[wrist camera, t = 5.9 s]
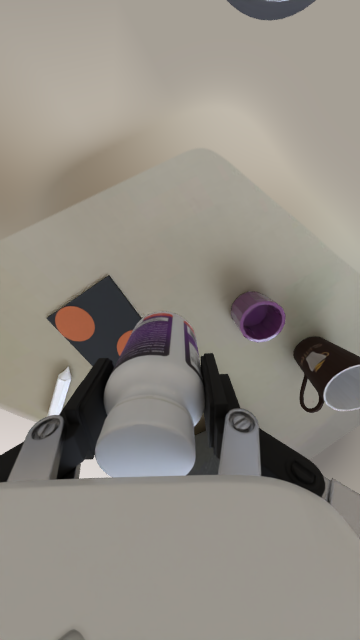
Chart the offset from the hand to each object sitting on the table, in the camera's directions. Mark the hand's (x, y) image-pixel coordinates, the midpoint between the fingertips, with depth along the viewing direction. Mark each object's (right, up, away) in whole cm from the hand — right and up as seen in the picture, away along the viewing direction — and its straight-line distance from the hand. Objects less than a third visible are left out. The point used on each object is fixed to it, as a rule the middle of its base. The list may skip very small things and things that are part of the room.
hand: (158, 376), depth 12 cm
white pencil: (-23, -11, +28) cm, 39 cm away
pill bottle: (0, +2, +5) cm, 5 cm away
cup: (+14, +5, +21) cm, 26 cm away
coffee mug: (+25, -3, +25) cm, 36 cm away
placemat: (-12, +1, +23) cm, 26 cm away
